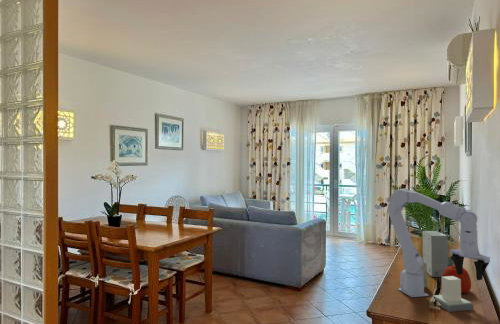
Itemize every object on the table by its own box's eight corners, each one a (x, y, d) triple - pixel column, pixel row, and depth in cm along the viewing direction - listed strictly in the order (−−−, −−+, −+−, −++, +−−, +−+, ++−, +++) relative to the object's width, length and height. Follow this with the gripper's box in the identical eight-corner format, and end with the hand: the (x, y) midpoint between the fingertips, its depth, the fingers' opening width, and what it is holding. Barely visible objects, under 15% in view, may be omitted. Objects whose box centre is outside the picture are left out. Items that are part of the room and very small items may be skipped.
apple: (436, 288, 152) (436, 264, 153) (453, 284, 157) (453, 261, 157) (460, 296, 143) (459, 270, 143) (477, 292, 147) (476, 267, 147)
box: (422, 284, 158) (422, 259, 158) (427, 287, 154) (427, 262, 154) (411, 284, 158) (410, 260, 158) (416, 287, 153) (415, 262, 154)
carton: (441, 297, 135) (441, 276, 135) (453, 296, 136) (452, 275, 136) (449, 301, 131) (448, 279, 131) (461, 300, 132) (460, 279, 132)
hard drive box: (449, 278, 166) (448, 236, 167) (431, 277, 168) (430, 235, 168) (438, 268, 181) (437, 230, 182) (422, 268, 183) (421, 230, 183)
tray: (431, 301, 138) (431, 295, 138) (453, 299, 139) (453, 293, 139) (449, 311, 128) (449, 304, 128) (473, 309, 129) (473, 302, 129)
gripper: (444, 239, 140) (445, 273, 140) (481, 246, 127) (482, 283, 127) (456, 237, 143) (456, 270, 143) (493, 244, 130) (494, 281, 130)
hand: (469, 276), depth 135 cm, fingers open, 7 cm apart
